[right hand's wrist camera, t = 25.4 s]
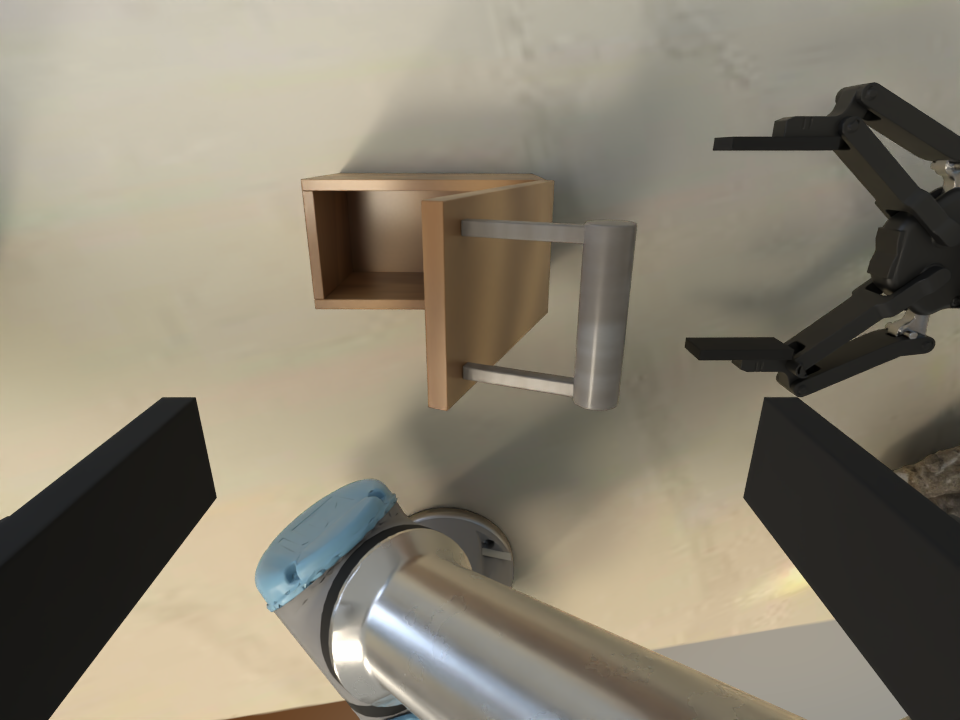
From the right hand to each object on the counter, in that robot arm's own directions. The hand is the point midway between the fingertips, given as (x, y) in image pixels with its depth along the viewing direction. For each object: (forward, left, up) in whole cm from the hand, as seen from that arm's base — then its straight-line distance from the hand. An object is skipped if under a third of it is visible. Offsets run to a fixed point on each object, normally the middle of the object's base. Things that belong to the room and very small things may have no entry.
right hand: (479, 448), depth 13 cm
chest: (-2, +3, -39) cm, 39 cm away
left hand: (+10, -12, -25) cm, 29 cm away
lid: (+1, -1, -20) cm, 20 cm away
